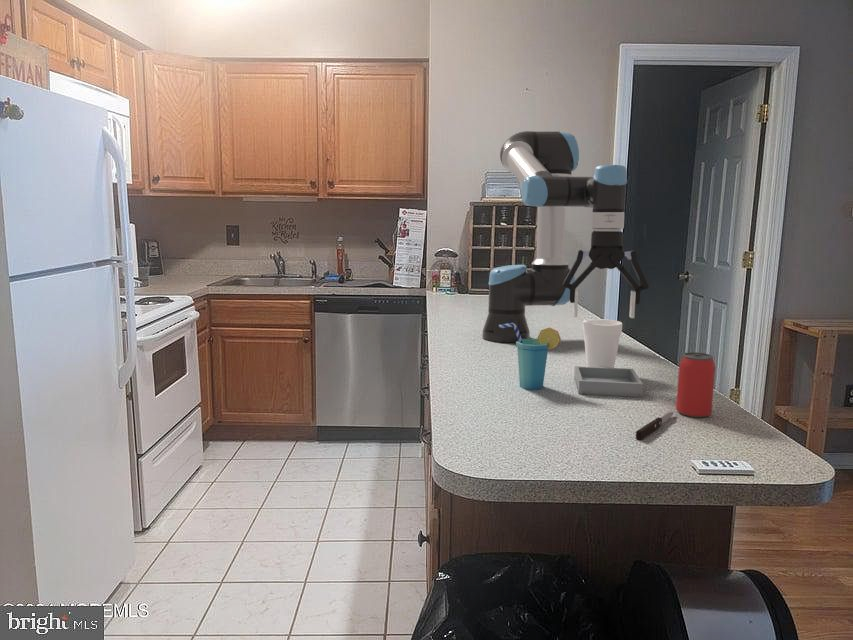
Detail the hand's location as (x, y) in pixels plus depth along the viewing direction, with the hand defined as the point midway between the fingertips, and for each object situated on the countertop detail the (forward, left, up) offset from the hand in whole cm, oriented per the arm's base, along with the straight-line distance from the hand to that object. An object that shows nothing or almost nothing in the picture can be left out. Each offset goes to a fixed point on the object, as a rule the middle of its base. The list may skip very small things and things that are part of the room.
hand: (603, 316), depth 153 cm
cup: (+16, -18, -15) cm, 28 cm away
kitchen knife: (+40, +6, -15) cm, 43 cm away
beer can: (+30, +15, -15) cm, 36 cm away
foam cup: (0, 0, -15) cm, 15 cm away
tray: (+13, 0, -14) cm, 19 cm away
